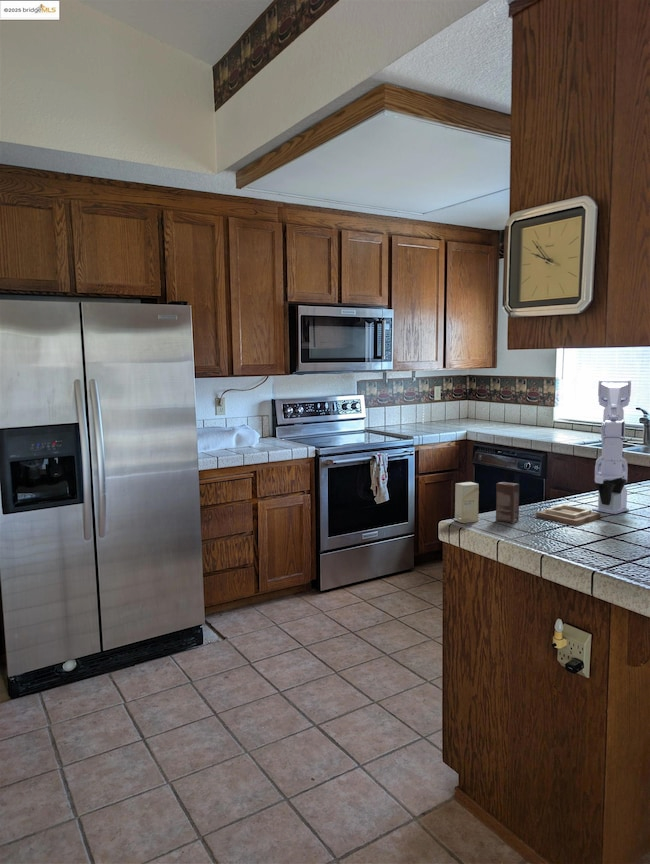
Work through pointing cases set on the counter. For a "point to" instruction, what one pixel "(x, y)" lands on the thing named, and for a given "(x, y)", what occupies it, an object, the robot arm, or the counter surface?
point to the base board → (568, 514)
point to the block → (612, 502)
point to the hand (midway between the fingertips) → (609, 503)
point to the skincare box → (466, 502)
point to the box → (507, 502)
